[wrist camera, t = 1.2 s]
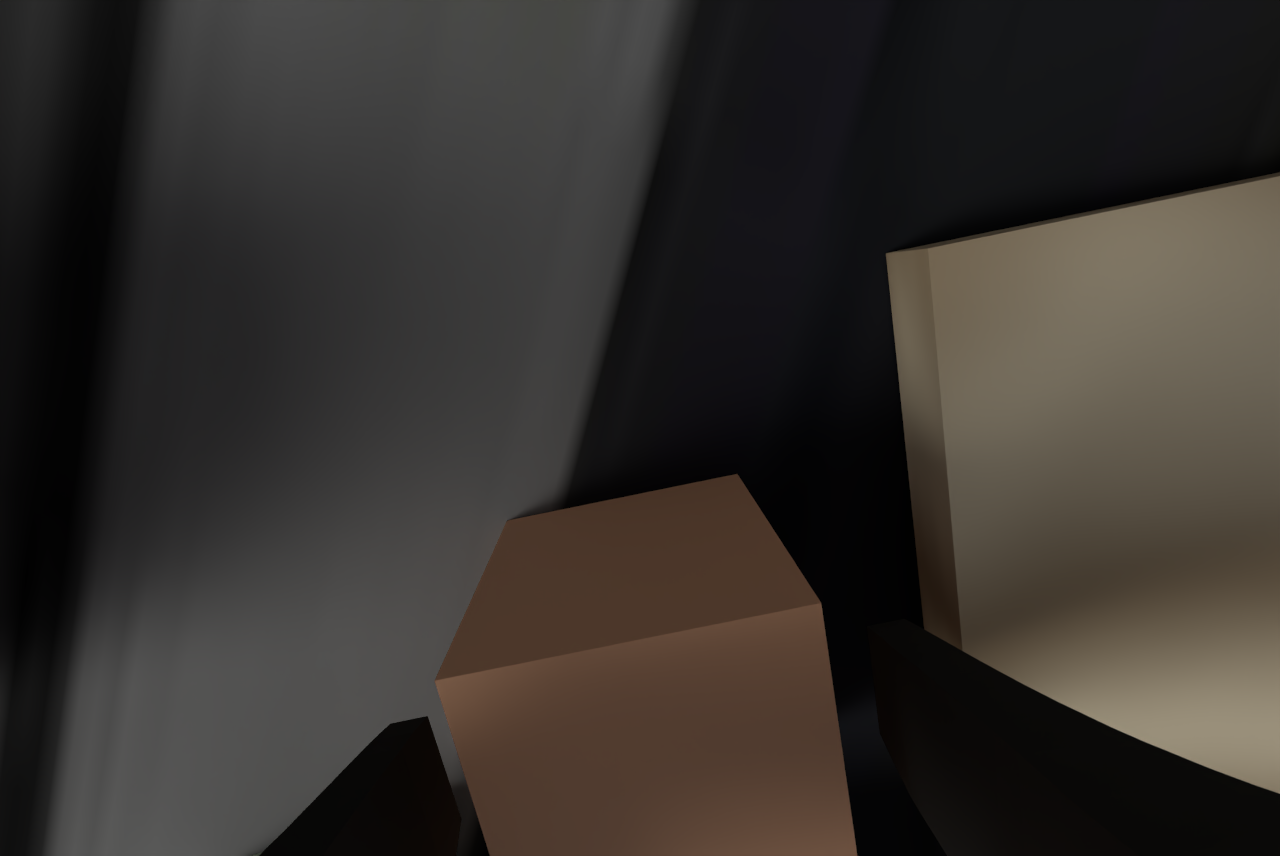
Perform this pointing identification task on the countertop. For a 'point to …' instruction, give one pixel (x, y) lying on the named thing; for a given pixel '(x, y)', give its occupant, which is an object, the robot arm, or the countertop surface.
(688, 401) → the countertop surface
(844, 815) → the terracotta block
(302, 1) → the countertop surface
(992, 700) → the robot arm
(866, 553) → the countertop surface
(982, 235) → the birch board
